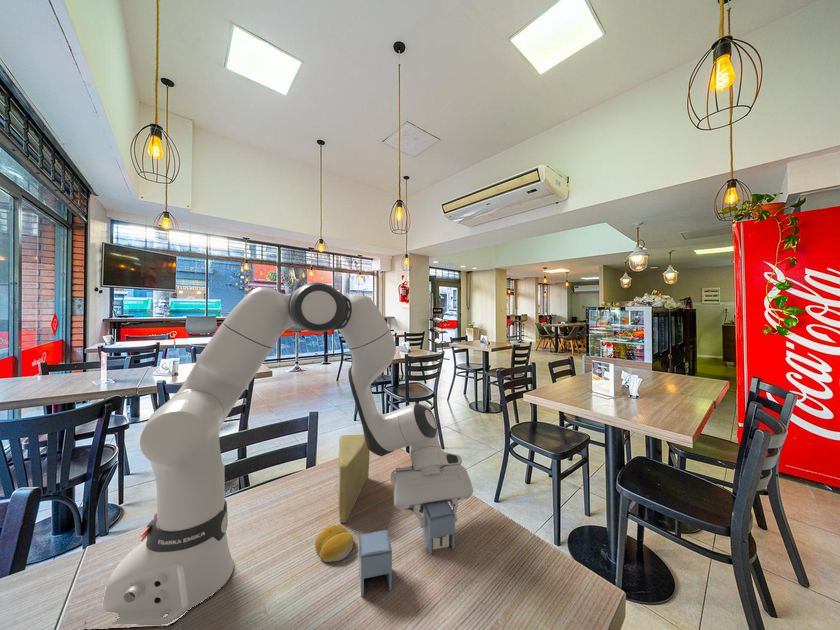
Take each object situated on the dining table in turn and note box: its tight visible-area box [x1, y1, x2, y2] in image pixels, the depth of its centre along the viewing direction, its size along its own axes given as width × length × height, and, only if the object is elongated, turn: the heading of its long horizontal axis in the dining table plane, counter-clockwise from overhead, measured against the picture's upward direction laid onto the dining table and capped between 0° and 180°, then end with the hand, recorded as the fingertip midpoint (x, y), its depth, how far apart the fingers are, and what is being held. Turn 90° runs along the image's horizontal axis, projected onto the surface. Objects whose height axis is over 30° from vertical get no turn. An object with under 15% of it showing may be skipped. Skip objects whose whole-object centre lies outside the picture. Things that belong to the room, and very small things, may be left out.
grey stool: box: [422, 500, 456, 554], centre depth 75 cm, size 6×6×8 cm
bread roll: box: [314, 524, 354, 563], centre depth 73 cm, size 8×9×4 cm
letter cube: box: [432, 535, 450, 551], centre depth 75 cm, size 4×4×4 cm
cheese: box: [337, 434, 370, 524], centre depth 92 cm, size 22×10×15 cm, turn 4°
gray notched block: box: [358, 529, 393, 598], centre depth 64 cm, size 6×6×8 cm
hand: (439, 524), depth 74 cm, fingers closed on grey stool, 6 cm apart
